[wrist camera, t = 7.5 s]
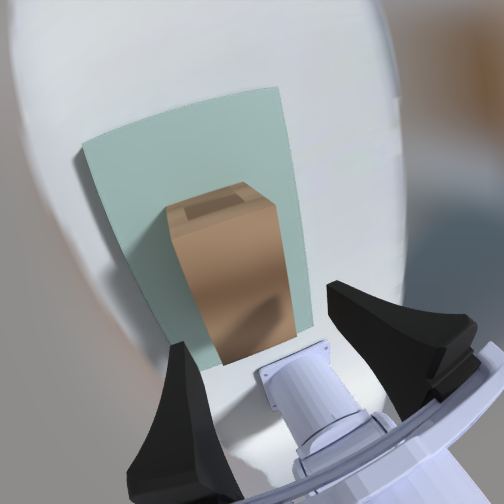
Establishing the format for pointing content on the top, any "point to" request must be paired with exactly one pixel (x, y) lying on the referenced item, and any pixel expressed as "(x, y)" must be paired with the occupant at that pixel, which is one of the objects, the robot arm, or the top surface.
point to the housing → (235, 268)
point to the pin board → (193, 184)
